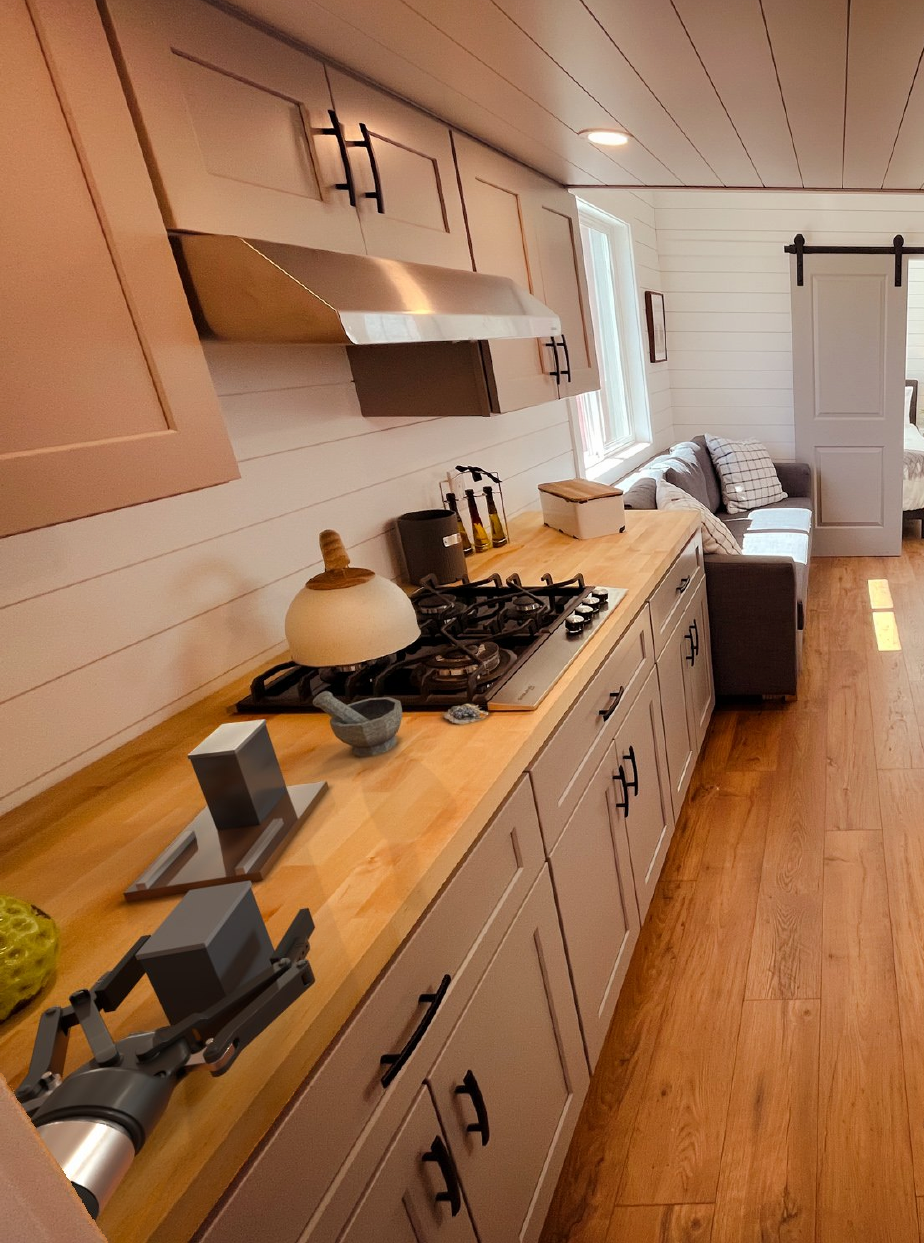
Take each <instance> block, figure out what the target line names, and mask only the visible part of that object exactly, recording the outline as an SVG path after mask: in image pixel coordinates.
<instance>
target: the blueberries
mask: <svg viewBox="0 0 924 1243" xmlns="http://www.w3.org/2000/svg"><path fill="white" fill-rule="evenodd" d="M480 709H481V707H479V704H477V705H476V704H474V703H464V704H462V705H454V706H451V708H449V709H448V710H447V712H443V713H441V716H442V717H443V718H445V720H449V722H451V723H453V724H457V725H464V724H465V725H467V724H468V723H474V722H475V723H476V722H479V721H483V720H484V719H485V718H486V716H489V715H488V714H489V712H488V711H485V710H480ZM480 714H483V715H484V716H481V715H480Z"/></svg>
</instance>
